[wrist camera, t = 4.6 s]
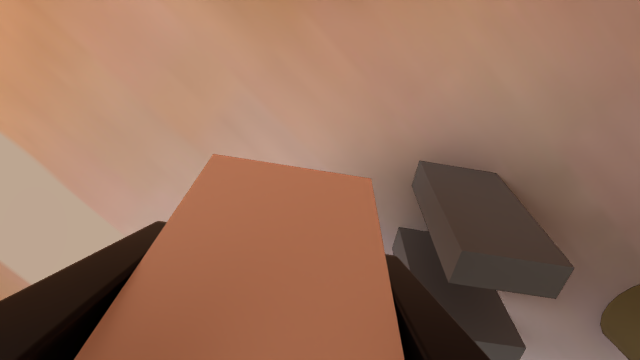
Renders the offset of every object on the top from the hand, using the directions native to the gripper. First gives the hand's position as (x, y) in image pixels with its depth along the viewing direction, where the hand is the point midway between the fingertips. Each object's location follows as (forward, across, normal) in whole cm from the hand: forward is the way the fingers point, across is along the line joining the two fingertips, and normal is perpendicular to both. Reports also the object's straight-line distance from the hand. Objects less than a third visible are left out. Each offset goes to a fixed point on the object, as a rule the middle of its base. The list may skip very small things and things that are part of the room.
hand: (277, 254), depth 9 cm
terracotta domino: (+3, 0, 0) cm, 3 cm away
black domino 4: (+13, -9, +3) cm, 16 cm away
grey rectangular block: (+13, -9, +8) cm, 18 cm away
